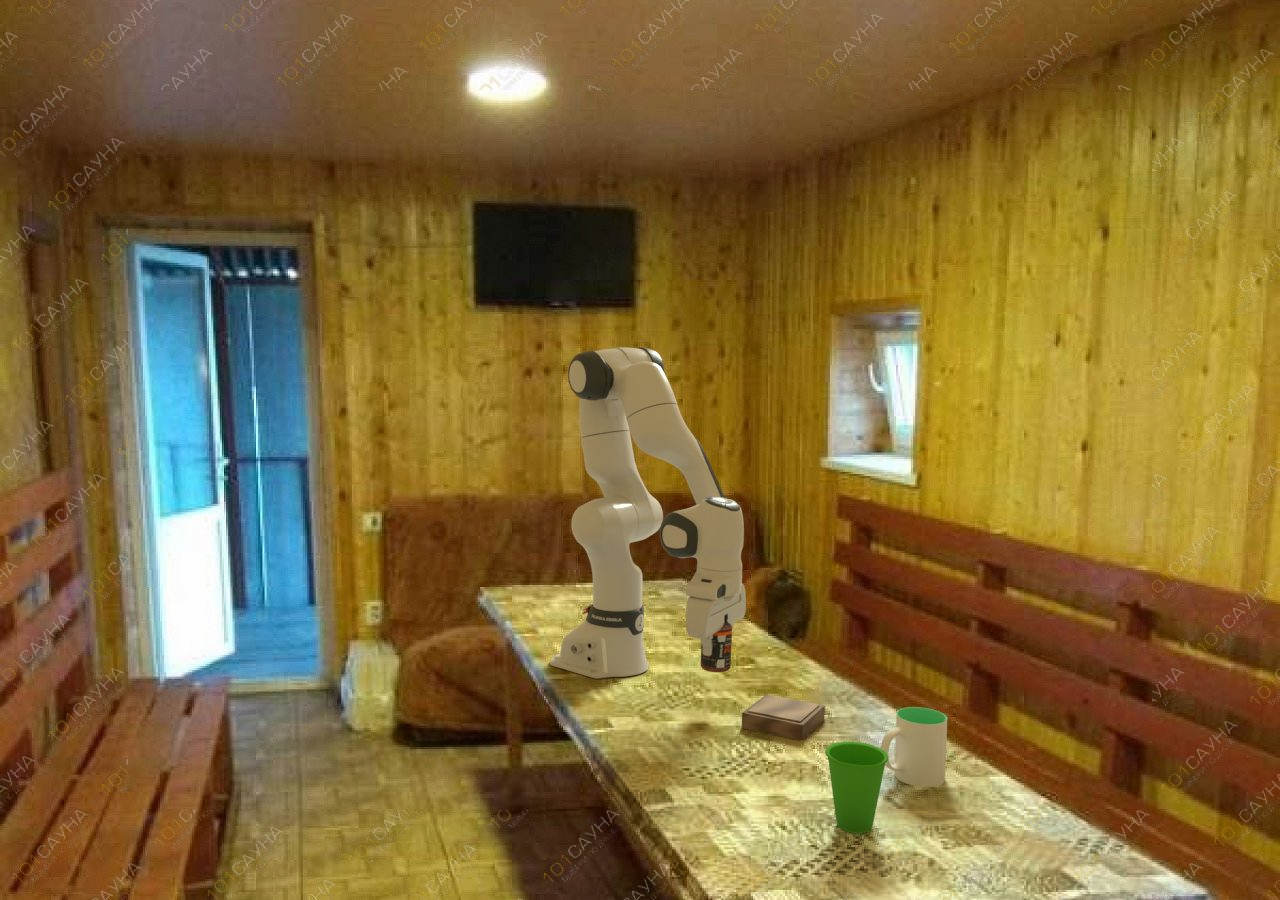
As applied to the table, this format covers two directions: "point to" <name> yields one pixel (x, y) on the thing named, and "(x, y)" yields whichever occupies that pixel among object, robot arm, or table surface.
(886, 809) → the table surface
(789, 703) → the brown box
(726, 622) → the supplement bottle
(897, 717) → the mug
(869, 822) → the cup
